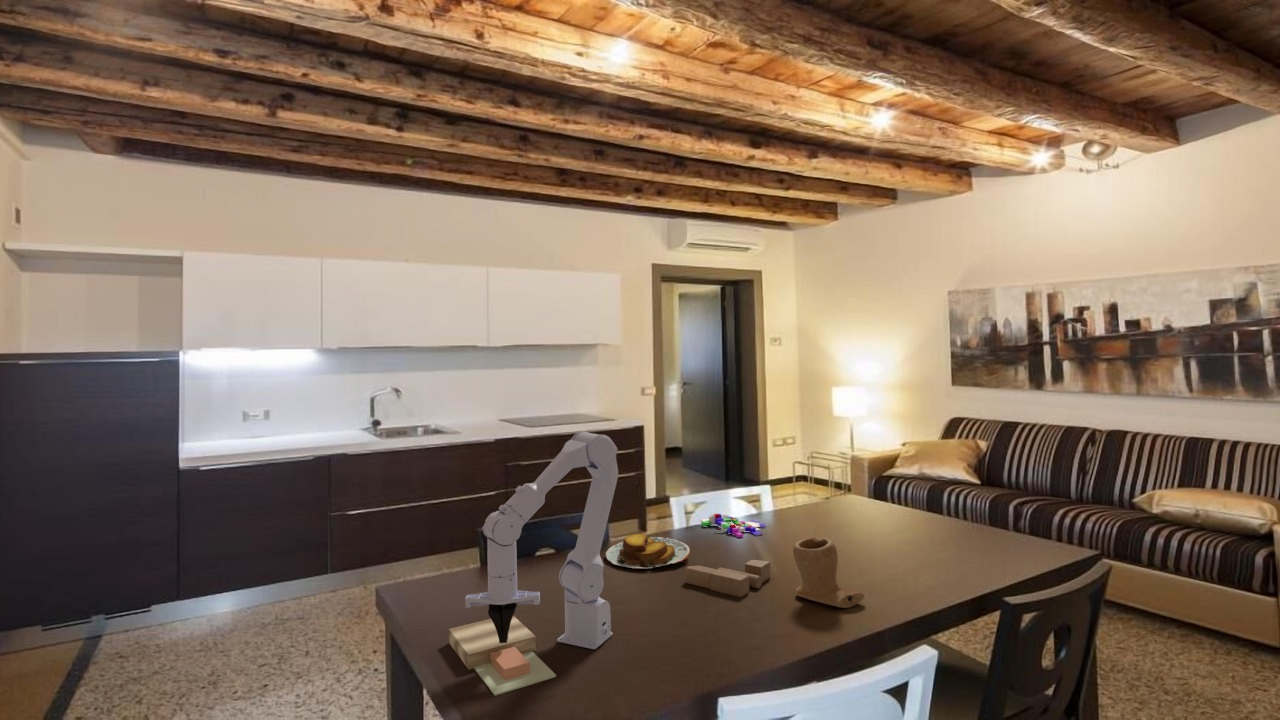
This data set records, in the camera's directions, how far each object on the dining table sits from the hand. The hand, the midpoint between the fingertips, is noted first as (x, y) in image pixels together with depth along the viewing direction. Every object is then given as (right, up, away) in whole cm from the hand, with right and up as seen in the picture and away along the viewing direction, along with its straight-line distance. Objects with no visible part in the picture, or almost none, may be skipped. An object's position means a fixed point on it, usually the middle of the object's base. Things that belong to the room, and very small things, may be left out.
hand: (503, 640), depth 125 cm
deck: (-4, -4, +6) cm, 8 cm away
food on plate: (+30, -4, +63) cm, 70 cm away
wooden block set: (+51, -4, +43) cm, 67 cm away
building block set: (+61, -4, +96) cm, 113 cm away
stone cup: (+72, -3, +27) cm, 77 cm away
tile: (+2, -4, -4) cm, 5 cm away
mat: (+3, -4, -5) cm, 7 cm away
